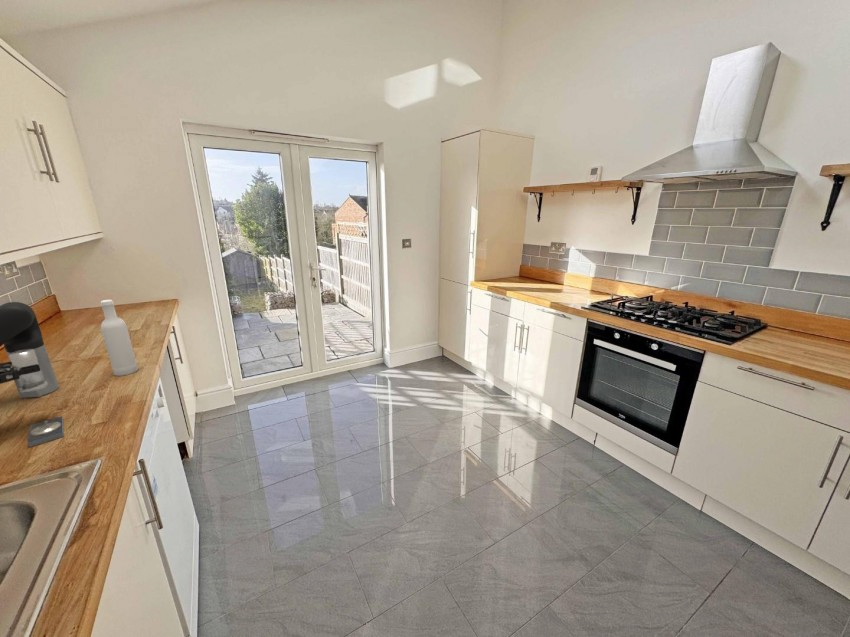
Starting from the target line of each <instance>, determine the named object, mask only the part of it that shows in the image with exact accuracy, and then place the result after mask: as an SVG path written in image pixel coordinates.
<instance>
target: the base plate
mask: <svg viewBox="0 0 850 637" xmlns="http://www.w3.org/2000/svg"><path fill="white" fill-rule="evenodd" d="M64 421H65V420H64V418H63V415H62V416H57V417H53V418H51V419H47V420H43V421H40V422H36V423H33V424H30V425H29V428H28V429H29V430H28V437H27V445H28V447H29V448H31V447H35V446H38V445H41V444H45V443H47V442H51V441H54V440H57V439H60V438H63V437H65V430H64V429H65V427H64V426H65V425H64Z"/></svg>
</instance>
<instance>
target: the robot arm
mask: <svg viewBox="0 0 850 637" xmlns="http://www.w3.org/2000/svg"><path fill="white" fill-rule="evenodd" d="M2 346H4V347H3V348H4V349H5V352H6V355H7V357H8V360H9V361H8V362H7V361H5V362H1V363H0V385H1V384H5V383H8V382H12V381H14V384H15V386H16V390H17V391H18V392H17V393H18V395H19V396H20V399H25V398H26V399H27V398H29V399H30V398H40V397H42V396H45V395H48V394H51V393H53V392H55V391H57V390H58V389H59V388H60V384H59V382H58V380H57V376H56V374H55V371H54V367H53V366H52V363H51V360H50V356H49V353H48V351H47V349H46V345H45V342H44V338H43V335H42V331H41V328H40V325H39V322H38V319H37V316H36V313H35V311H34V309H33V308H32V307H31V306H29V305H28V304H26V303H23V302H20V301H11V302H9V301H8V302H5V303H3V304H1V305H0V347H2ZM24 349H34V351H35V354H36V357H37V360H38V363H39V364H35V365H30V366H26V367H21V369H20V368H13V365H12V362H11V360H10V357H9V354H10V353H12V352H15V351H19V350H24ZM40 368H41V369H40ZM40 370H41V371H42V374H43V377H44V380H46V381H47V383H48V386H47V387H45V388H43V389H40V390H37V391H34V392H28V393H21V392H20V390H19V387H20V384H19V381H18V379H19V378H20V377H21V376H23V375H25V374H29V373H34V372H38V371H40Z"/></svg>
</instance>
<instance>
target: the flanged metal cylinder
mask: <svg viewBox="0 0 850 637" xmlns="http://www.w3.org/2000/svg"><path fill="white" fill-rule="evenodd" d="M9 357H10V360H11V362H12V365H13V368H20V369H21V367H26V366H30V365H35V364H39V363H38V360H37V357H36V354H35V351H34V349H24V350H19V351H15V352H12V353H10V354H9ZM9 357H8V358H9ZM10 360H9V361H10ZM40 369H41V368H40ZM18 381H19V384H20V387H19V390H20V392H21V393H28V392H34V391H37V390H40V389H43V388H45V387H47V386H48V383H47V381H46V380H44V377H43V374H42V371H41V370H40V371H38V372H34V373H29V374H25V375H23V376H21V377H20V378H19V379H18Z"/></svg>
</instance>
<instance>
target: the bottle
mask: <svg viewBox="0 0 850 637" xmlns="http://www.w3.org/2000/svg"><path fill="white" fill-rule="evenodd" d="M100 307H101V309H102V312H103V316H104V319H103V320H102V322H101V326H100V331H101V334H102V338H103V342H104V345H105V348H106V351H107V355H108V358H109V361H110V364H111V370H112V372H113V374H114V376H117V377H120V376H121V377H124V376H128V375H131V374H134V373H136V372H137V371H138V370H139V366H138V362H137V359H136V356H135V352H134V348H133V345H132V341H131V337H130V333H129V330H128V326H127V324H126V322H125V321H124V319H122V318H121V317H119V316H117V311H116V307H115V302H114V301H113V299H104V300H100Z"/></svg>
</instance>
